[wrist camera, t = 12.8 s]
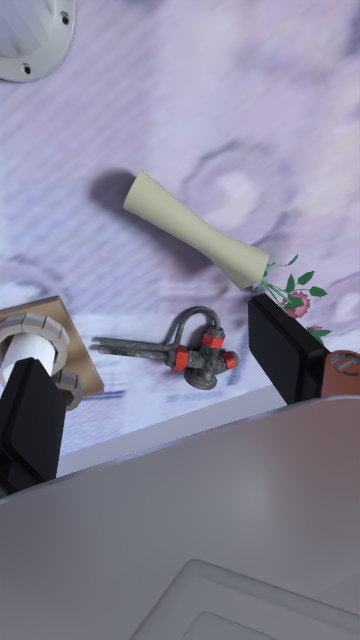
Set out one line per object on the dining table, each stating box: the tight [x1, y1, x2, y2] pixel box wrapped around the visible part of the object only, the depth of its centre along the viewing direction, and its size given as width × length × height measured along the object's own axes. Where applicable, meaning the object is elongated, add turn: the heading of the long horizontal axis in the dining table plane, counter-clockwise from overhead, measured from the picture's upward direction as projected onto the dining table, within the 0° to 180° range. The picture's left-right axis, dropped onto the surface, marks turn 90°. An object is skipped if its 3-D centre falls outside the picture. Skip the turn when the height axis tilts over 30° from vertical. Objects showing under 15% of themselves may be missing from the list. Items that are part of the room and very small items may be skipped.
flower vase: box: [123, 170, 332, 346], centre depth 39 cm, size 12×12×35 cm
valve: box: [99, 307, 240, 390], centre depth 47 cm, size 6×26×15 cm
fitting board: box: [0, 296, 104, 411], centre depth 42 cm, size 20×12×4 cm, turn 10°
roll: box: [0, 332, 56, 389], centre depth 36 cm, size 6×12×6 cm
